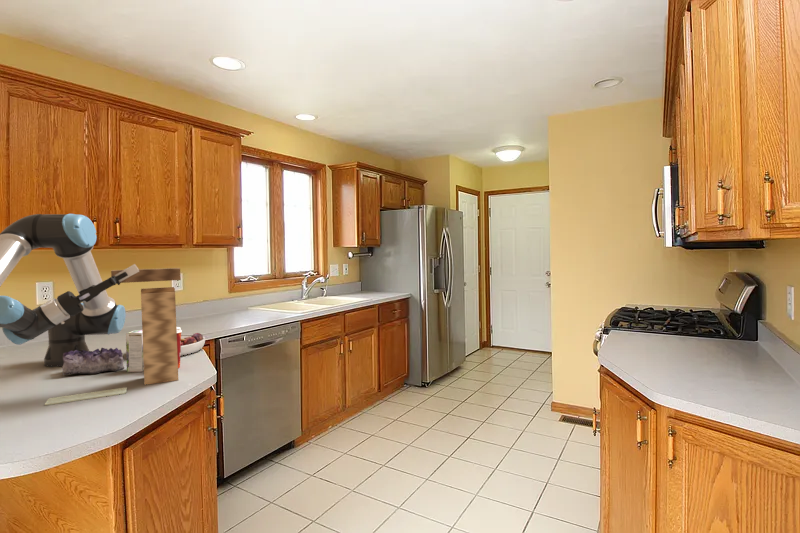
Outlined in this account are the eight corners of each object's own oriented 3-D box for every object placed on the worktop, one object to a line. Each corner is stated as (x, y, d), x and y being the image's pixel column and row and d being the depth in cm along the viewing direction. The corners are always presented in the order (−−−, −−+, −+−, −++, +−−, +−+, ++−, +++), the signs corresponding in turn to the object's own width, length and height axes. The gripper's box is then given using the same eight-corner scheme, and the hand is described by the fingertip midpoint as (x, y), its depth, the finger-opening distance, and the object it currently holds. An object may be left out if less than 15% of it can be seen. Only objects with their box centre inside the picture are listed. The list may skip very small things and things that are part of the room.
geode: (129, 365, 173) (128, 340, 172) (120, 377, 163) (119, 350, 161) (67, 368, 167) (66, 342, 166) (54, 380, 156) (52, 353, 155)
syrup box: (134, 368, 168) (132, 330, 167) (150, 367, 168) (149, 329, 168) (126, 372, 162) (124, 332, 162) (143, 371, 163) (141, 332, 162)
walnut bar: (111, 283, 144) (111, 270, 143) (112, 282, 147) (112, 270, 147) (180, 280, 153) (180, 268, 153) (179, 279, 157) (179, 267, 157)
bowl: (118, 364, 175) (117, 344, 174) (137, 348, 203) (136, 331, 203) (201, 357, 184) (200, 338, 184) (208, 343, 213) (207, 326, 212)
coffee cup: (188, 366, 169) (186, 327, 169) (170, 372, 162) (169, 331, 161) (171, 364, 172) (169, 326, 172) (153, 370, 164) (151, 330, 164)
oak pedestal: (144, 384, 147) (140, 290, 145) (144, 377, 155) (141, 288, 154) (178, 380, 152) (175, 288, 150) (176, 373, 160) (173, 286, 159)
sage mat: (44, 405, 128) (44, 404, 128) (48, 399, 133) (48, 398, 133) (126, 393, 138) (125, 392, 138) (126, 388, 143) (126, 387, 143)
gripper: (75, 313, 148) (144, 275, 157) (67, 321, 133) (143, 278, 142) (60, 294, 146) (131, 257, 155) (50, 300, 131) (129, 258, 140)
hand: (137, 267), depth 149 cm, fingers closed on walnut bar, 4 cm apart
